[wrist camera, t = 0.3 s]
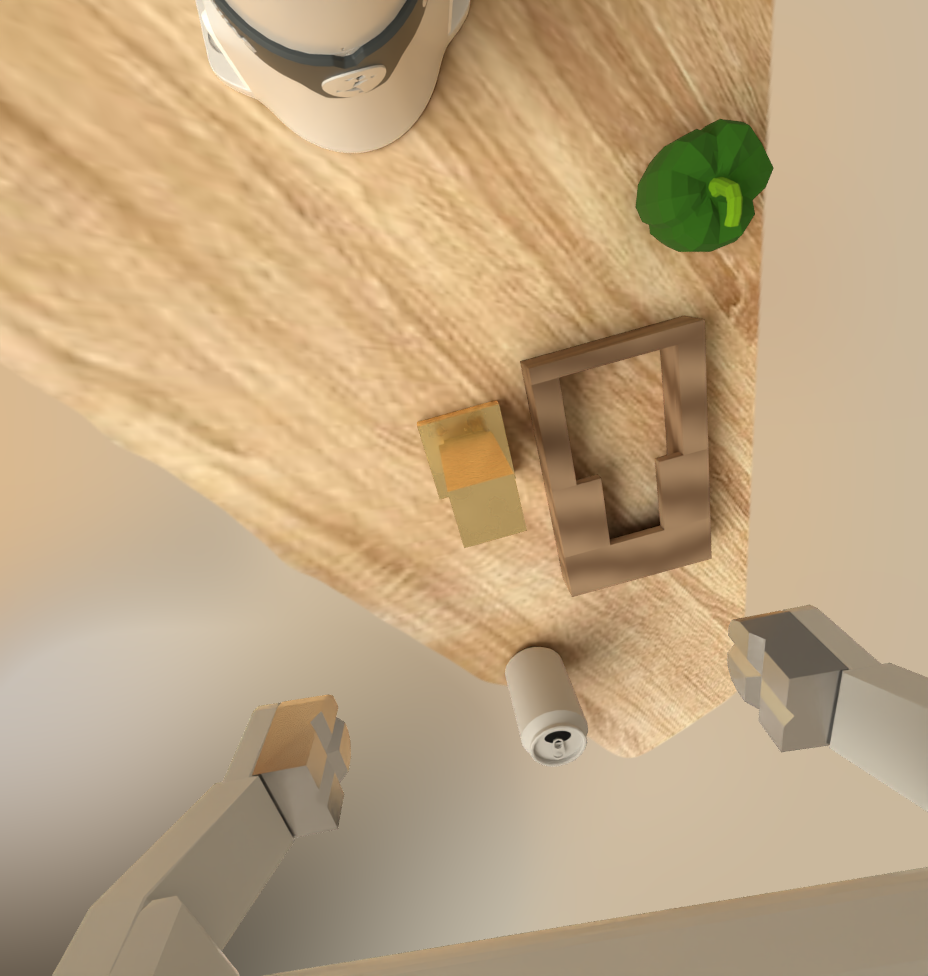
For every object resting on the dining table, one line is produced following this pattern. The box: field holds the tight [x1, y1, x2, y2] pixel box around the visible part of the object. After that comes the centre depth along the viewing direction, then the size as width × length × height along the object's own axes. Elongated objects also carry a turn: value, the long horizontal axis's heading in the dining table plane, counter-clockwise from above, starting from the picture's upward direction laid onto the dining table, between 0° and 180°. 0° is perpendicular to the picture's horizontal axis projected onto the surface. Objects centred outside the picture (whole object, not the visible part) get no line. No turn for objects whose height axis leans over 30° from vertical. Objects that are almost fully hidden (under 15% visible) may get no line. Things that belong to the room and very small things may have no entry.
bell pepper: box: [636, 119, 773, 252], centre depth 37 cm, size 8×8×10 cm
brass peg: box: [417, 400, 527, 548], centre depth 42 cm, size 8×8×14 cm
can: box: [505, 647, 588, 766], centre depth 57 cm, size 8×8×12 cm
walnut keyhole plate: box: [520, 316, 712, 597], centre depth 50 cm, size 26×16×4 cm, turn 14°
